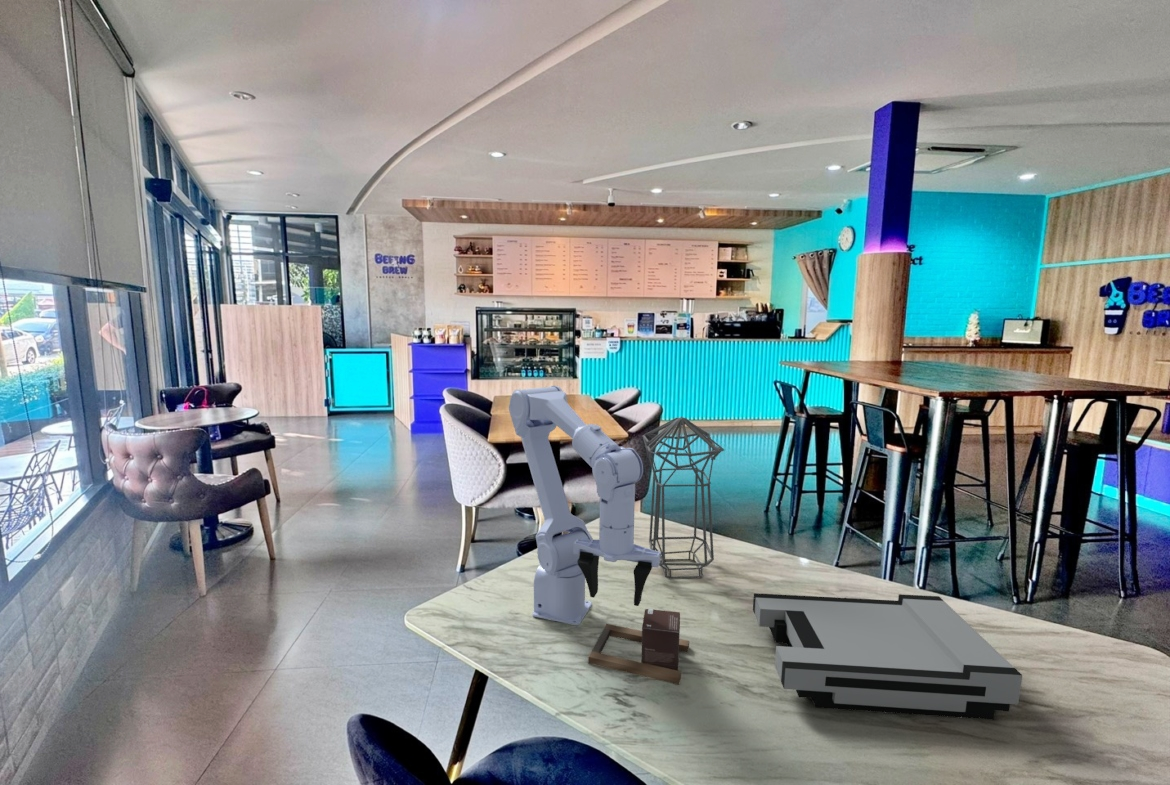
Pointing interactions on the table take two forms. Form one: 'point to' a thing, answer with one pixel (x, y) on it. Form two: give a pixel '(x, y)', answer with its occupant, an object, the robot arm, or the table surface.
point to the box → (660, 638)
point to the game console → (886, 656)
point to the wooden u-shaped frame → (629, 665)
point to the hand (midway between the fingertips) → (615, 598)
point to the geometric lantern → (715, 451)
